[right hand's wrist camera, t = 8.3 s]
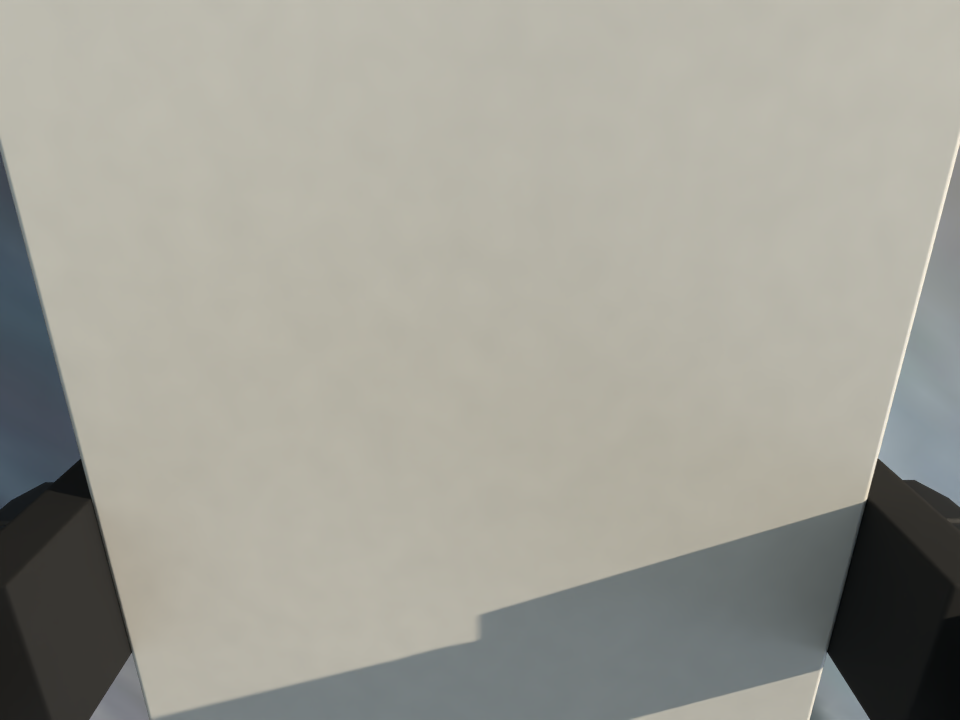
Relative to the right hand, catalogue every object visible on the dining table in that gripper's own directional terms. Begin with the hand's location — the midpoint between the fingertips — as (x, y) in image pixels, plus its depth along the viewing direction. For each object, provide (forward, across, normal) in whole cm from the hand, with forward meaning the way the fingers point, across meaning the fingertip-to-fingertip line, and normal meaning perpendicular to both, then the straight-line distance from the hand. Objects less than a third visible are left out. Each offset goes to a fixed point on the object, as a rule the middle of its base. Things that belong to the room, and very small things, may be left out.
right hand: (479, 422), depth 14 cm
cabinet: (+3, 0, -7) cm, 8 cm away
